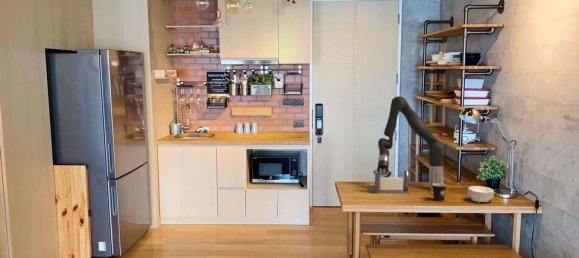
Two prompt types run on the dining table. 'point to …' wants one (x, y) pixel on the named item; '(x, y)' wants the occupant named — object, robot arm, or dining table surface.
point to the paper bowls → (480, 193)
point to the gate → (391, 183)
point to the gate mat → (372, 190)
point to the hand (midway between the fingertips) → (381, 183)
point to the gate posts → (377, 181)
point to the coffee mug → (438, 191)
